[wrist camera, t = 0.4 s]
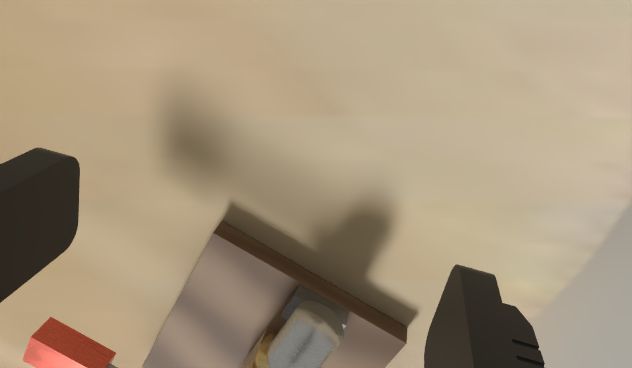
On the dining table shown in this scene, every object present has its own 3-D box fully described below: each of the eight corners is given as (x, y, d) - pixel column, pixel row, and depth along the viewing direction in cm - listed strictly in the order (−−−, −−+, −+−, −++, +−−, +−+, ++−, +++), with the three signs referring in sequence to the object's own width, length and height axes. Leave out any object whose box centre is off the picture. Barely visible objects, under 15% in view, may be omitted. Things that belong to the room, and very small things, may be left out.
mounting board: (222, 221, 34) (213, 233, 32) (407, 327, 34) (406, 343, 33) (151, 352, 40) (141, 366, 39) (308, 439, 41) (304, 456, 40)
